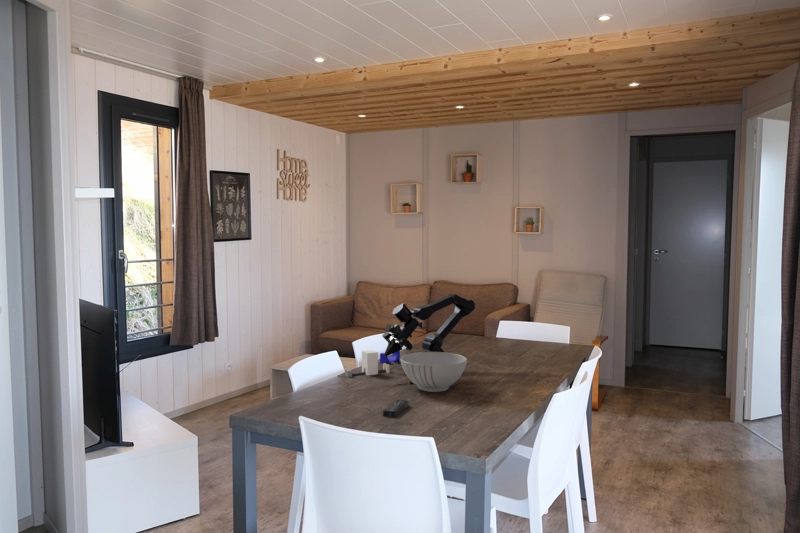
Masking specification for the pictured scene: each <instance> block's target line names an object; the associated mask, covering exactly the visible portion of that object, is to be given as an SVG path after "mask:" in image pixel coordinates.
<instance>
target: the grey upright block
mask: <svg viewBox="0 0 800 533" xmlns="http://www.w3.org/2000/svg"><path fill="white" fill-rule="evenodd" d="M378 370H379V352H378V351H376V350H372V349H369V350H362V351H361V372H366V374H365V375H366V376H375V375H379V373H378Z"/></svg>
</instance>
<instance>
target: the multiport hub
mask: <svg viewBox="0 0 800 533" xmlns="http://www.w3.org/2000/svg"><path fill="white" fill-rule="evenodd" d="M409 405H410V401H409V400H403V399H397V400H395V401H393V403H391V404H390V405H388V406H387V407H386V408H384V409H383V410H382V417H389V418H396V417H397V416H398V415H400V414H401V413H402V412H403V411H404V410H406V409H407V408H408V407H410V406H409Z"/></svg>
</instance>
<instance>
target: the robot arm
mask: <svg viewBox="0 0 800 533" xmlns="http://www.w3.org/2000/svg"><path fill="white" fill-rule="evenodd" d="M451 305H454V306H455V307H454V311H453V313H451V315H449V317H447V319H446V320H445V322H443V323H442V324H441V326H440V327H439V328H438V330H436V332H434V333H433V334H432V333H430V332H429V333H428V334H427V335H426V337H425V338H423V341H422V343H421V344H422V345H421V348H422V350H423V352H445V350H443V348H442V346H443V342H444V340H445V338H446V337H448V335H449V334H450V333H451V332H452V330H454V328H455V327H456V326H457V325H458V324H459V322H460V321H462V319H463V318H465V317H467V316H469V315H470V314H472V312H474V310H475V309H476V303H475V301H474V300H472V299H468V298H464V297H463V296H460V295H458V294H456V293H449V294H447V295H446V296H444V297H441V298H438V299H437V300H435V301H432V302H430V303H427V304H421V305H418V306H414V307H413V309H409V307H408V306H407V305H406V304H405V303H403V302H402V303H401V304H399V305H397V306H396V307H394V308H393V309H392V315H393V316H394V317H395V318H396V319H397V320H398V321H399V322H400V323H403V324H402V325H400V324H394V325H393V324H390V323H387V324H386V326H385V328H384V331H386V332H383V334H382V335H381V337H382V338H383V339H384V340H385V341H386V342H387V347H386V349H385V351H384V353H385V354H384V356H386V357H389V356H391V355H392V354H393V353H395V352H398V351H400V352H401V351H403V347H405V350H406V351H408V352H410V351H412V349H413V344H412V343H411V342H410V340H408V339H409V338H411V339H412V337H413V333H414V332H415V330H416V329H417V328H418V329H423V322H421V321H427V320H428V319H430V317H432V316H433V315H434V313H436V312H438V311H440V310H442V309H445V308H446V307H449V306H451ZM419 320H420V321H419Z"/></svg>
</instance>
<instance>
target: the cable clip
mask: <svg viewBox="0 0 800 533" xmlns="http://www.w3.org/2000/svg"><path fill="white" fill-rule="evenodd" d="M384 354H385V352H381V353H380V354H379V364H384V363H386V364H389V363H395V364H398V363H397V362H399V363H401V361H400V358H401V350H400V351H398V352H395V353H393V354H391V355H389V356H387V357H386V356H384Z"/></svg>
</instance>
